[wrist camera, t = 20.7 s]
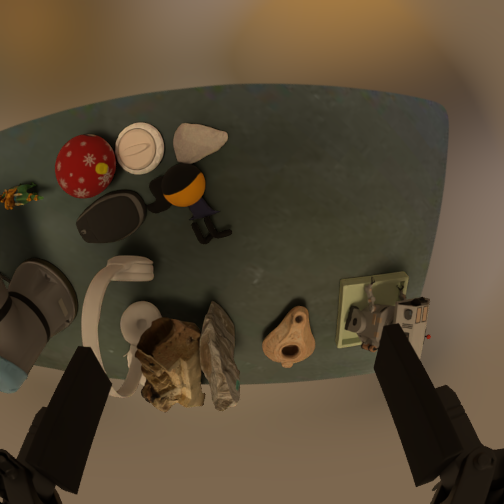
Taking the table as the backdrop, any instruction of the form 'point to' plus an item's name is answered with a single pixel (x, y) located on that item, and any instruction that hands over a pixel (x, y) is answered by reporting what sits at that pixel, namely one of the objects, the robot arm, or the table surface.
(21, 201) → the figurine
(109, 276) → the headphones
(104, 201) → the computer mouse
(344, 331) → the tray
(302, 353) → the pottery oil lamp
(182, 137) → the stone
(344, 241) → the table surface
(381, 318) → the figurine
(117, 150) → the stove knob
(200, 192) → the character figurine
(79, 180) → the christmas ornament
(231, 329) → the rock
